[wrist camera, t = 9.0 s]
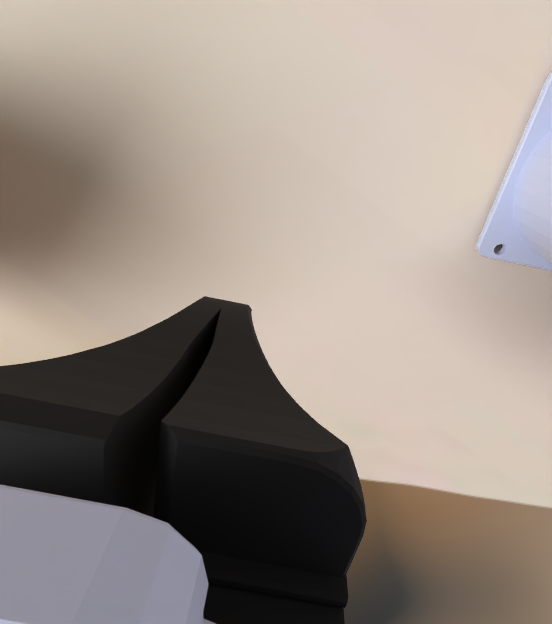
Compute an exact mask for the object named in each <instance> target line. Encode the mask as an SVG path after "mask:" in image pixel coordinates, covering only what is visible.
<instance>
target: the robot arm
mask: <svg viewBox="0 0 552 624" xmlns="http://www.w3.org/2000/svg"><path fill="white" fill-rule="evenodd" d="M499 244H502V249H501V250H500V251H498V252H494V248H495V247H496V246H497V245H499ZM476 250H477V252H478V253H479V254H480V255H481V256H484V257H487V258H492V259H497V260H502V261H507V262H512V263H516V264H521V265H526V266H531V267H536V268H540V269H545V270H550V271H552V72H551V73H550V74H549V75H548V77H547V79H546V81H545V83H544V86H543V88H542V90H541V93H540V95H539V97H538V100H537V102H536V104H535V107H534V109H533V111H532V114H531V116H530V119H529V121H528V123H527V126H526V128H525V130H524V133H523V135H522V137H521V140H520V142H519V144H518V147H517V149H516V152H515V154H514V156H513V159H512V161H511V163H510V166H509V168H508V170H507V173H506V175H505V177H504V180H503V182H502V184H501V187H500V189H499V192H498V194H497V196H496V199H495V201H494V203H493V206H492V208H491V210H490V213H489V215H488V217H487V220H486V222H485V224H484V227H483V229H482V232H481V234H480V236H479V239H478V241H477V244H476ZM251 311H252V309H251V308H250V306H249V305H246V304H241V303H236V302H231V301H226V300H221V299H215V298H210V297H203V298H201V299H199V300H198V301H196V302H194V303H193V304H191V305H190V306H188V307H186V308H185V309H183V310H181V311H180V312H178V313H176V314H175V315H173V316H171V317H169V318H168V319H166V320H164V321H162V322H160V323H158V324H156V325H154V326H152V327H150V328H148V329H146V330H144V331H142V332H139V333H137V334H135V335H132V336H130V337H127V338H125V339H122V340H119V341H116V342H114V343H111V344H108V345H105V346H101V347H97V348H94V349H90V350H86V351H83V352H79V353H75V354H72V355H67V356H63V357H58V358H53V359H48V360H42V361H36V362H30V363H23V364H16V365H8V366H0V624H344V610H343V607H345V606H346V604H347V600H348V590H347V578H346V573H347V571H348V569H349V567H350V564H351V562H352V560H353V558H354V555H355V553H356V551H357V548H358V546H359V544H360V541H361V539H362V537H363V533H364V529H365V525H366V521H367V520H366V514H365V504H364V497H363V492H362V489H361V484H360V480H359V477H358V474H357V470H356V467H355V464H354V461H353V458H352V455H351V452H350V449H349V447H348V445H346V444H345V443H344V442H342V441H341V440H340V439H338V438H337V437H336V436H334V435H333V434H332V433H330V432H329V431H328V430H326V429H325V428H324V427H322V426H321V425H320V424H319V423H317V422H316V421H315V420H314V419H313V418H312V417H311V416H310V415H309V414H308V413H306V412H305V411H304V410H303V409H302V408H301V407H300V406H299V405H298V404H297V403H296V402H295V400H294V399H293V398H292V397H291V396H290V395H289V393H288V392H287V391H286V390H285V389H284V387H283V386H282V385H281V383H280V382H279V380H278V379H277V377H276V376H275V374H274V373H273V371H272V369H271V368H270V366H269V364H268V362H267V360H266V358H265V356H264V354H263V352H262V349H261V347H260V345H259V342H258V339H257V336H256V333H255V330H254V326H253V322H252V316H251Z"/></svg>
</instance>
